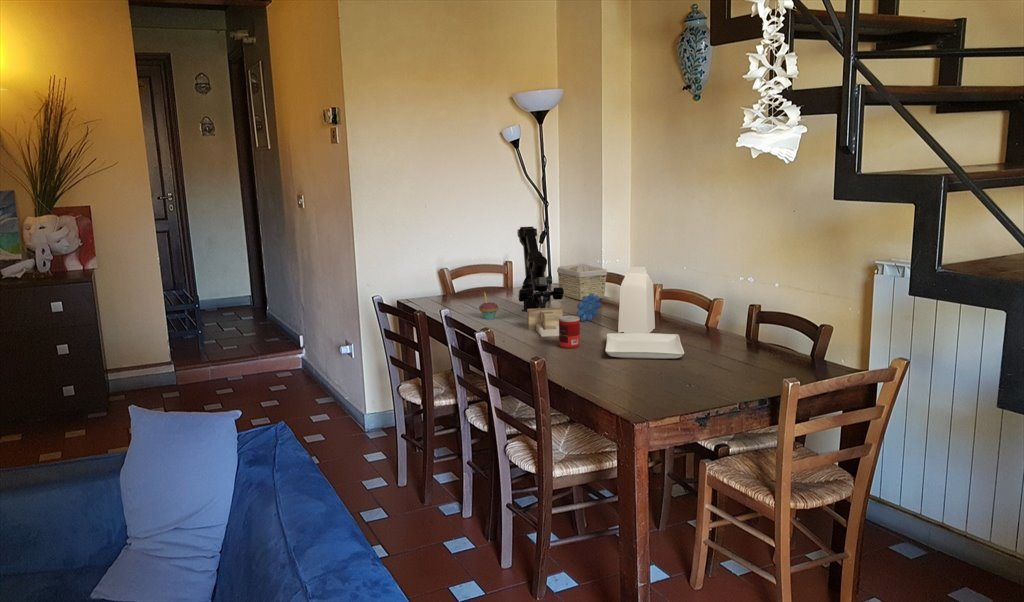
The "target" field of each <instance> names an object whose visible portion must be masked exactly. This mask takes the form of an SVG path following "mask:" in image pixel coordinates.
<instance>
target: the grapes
mask: <svg viewBox="0 0 1024 602" xmlns="http://www.w3.org/2000/svg"><path fill="white" fill-rule="evenodd" d="M600 299H601V298H599V296H595V295H594V294H593V293H591V294H589V296H584V297H583V298H582V300H581V301H580V302H578V304H577V309H578V310H577V312H576V316H578V317H580V321H581V322H585V321H587V322H590V321H592V320H593V318H594V317H597V316H598V315H599V309H600V308H601V307H602V303H601V302H600Z"/></svg>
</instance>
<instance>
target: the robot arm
mask: <svg viewBox="0 0 1024 602" xmlns="http://www.w3.org/2000/svg"><path fill="white" fill-rule="evenodd" d="M517 237H518V240H519V243H520V244H521V246H522V247H523V259H524V260H523V261H524V273H525V274H524V276H525V277H524V280H523V282H522V285H521V288H520V289H519V290H518V301H519V302H523V309H521V312H527V309H538V308H547V307H546V306H547V304H548V302H550V300H551V297H552V299H553V300H555V301H558V300H559V301H560V300H562V299H563V298H564V296H563V294H564V290H563V288H562V287H559V286H557V287H556V286H555V287H553V289H552V290H549V285H552V284H553V277H552V275H547V276H545V272H546V269H547V265H548V259H547V258H546V256H544V255H543V253H542V252H541V251H540V250H539V246H538V241H537V237H538V229H537V228H535V227H534V226H520V227H519V229H517Z"/></svg>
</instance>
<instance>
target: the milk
mask: <svg viewBox="0 0 1024 602" xmlns="http://www.w3.org/2000/svg"><path fill="white" fill-rule="evenodd" d="M654 294H655V293H654V283H653V280H652V279H651V277H650V275H649V274H648V271H647V269H646V266H640V265H639V266H638V265H636V266H635V265H630V266H629V267H628V269H627V271H626V273H625V275H624V278H623V279H622V282H621V283H620V289H619V305H618V306H619V308H618V310H619V311H618V328H617V330H618V331H617V332H618V333H621V332H624V333H652V331H654V330H655V329H656V320H655V319H656V317H655V316H656V315H655V299H654ZM653 329H654V330H653Z"/></svg>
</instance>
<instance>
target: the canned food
mask: <svg viewBox="0 0 1024 602" xmlns="http://www.w3.org/2000/svg"><path fill="white" fill-rule="evenodd" d="M580 321H581V317H580V316H577V315H562V317H560V318H559V336H558V340H559V341H558V343H559V344H558V345H559V347H560V348H561V349H565V350H575V349H578V348H579V347H580V345H581V331H580V330H581V329H580V328H581V327H580V326H581V322H580Z"/></svg>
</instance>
